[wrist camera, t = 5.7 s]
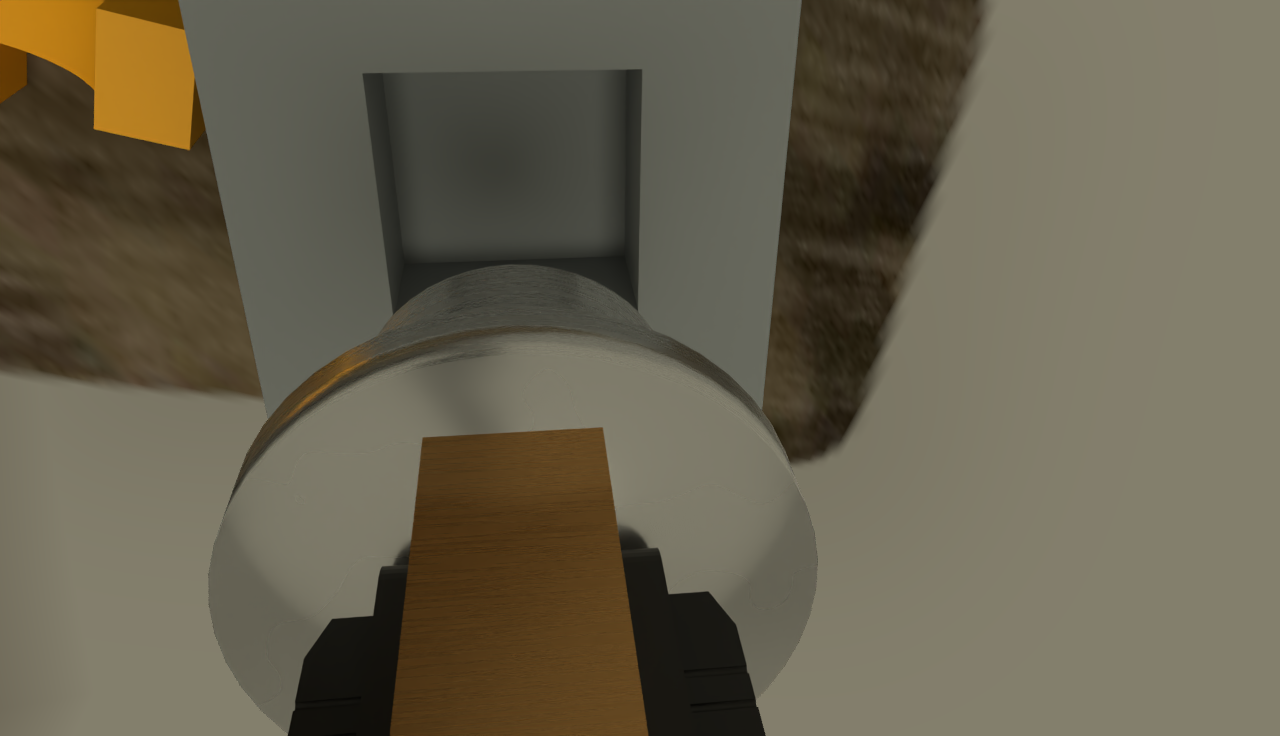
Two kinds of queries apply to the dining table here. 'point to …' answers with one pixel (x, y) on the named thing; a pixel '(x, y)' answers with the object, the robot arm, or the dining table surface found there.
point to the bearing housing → (497, 160)
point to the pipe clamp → (111, 61)
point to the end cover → (509, 509)
